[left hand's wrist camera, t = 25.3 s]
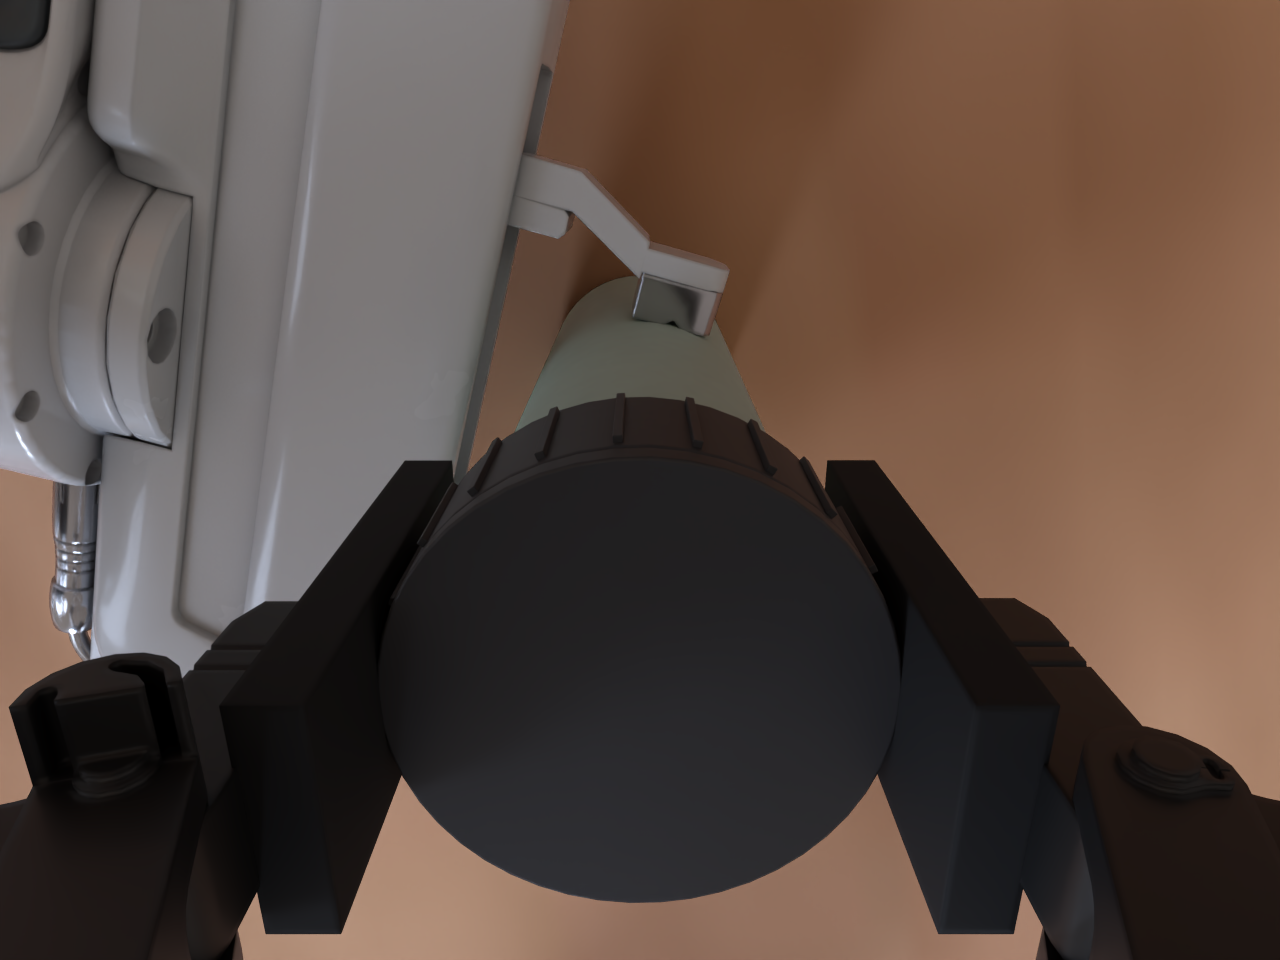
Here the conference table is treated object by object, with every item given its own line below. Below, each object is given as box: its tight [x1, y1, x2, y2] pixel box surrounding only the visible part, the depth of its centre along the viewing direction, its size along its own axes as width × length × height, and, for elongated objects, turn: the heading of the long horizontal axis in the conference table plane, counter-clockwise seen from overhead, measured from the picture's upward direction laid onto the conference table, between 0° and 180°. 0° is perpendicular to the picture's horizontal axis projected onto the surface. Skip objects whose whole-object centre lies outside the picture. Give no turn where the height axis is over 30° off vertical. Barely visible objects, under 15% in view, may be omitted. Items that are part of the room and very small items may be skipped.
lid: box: [377, 393, 902, 903], centre depth 11 cm, size 6×6×2 cm
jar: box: [515, 276, 766, 433], centre depth 18 cm, size 5×5×16 cm
